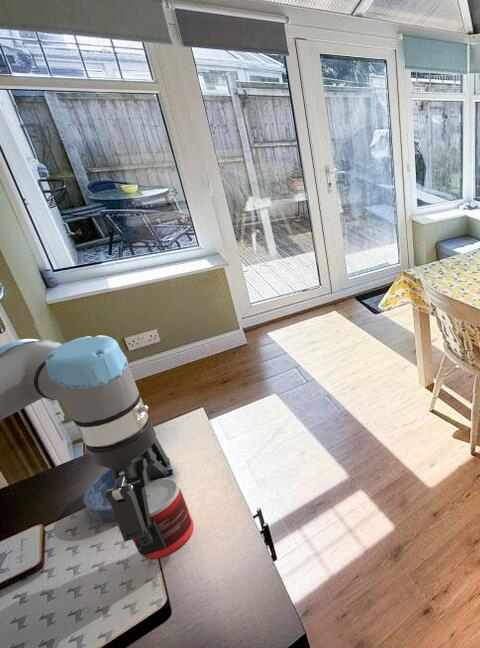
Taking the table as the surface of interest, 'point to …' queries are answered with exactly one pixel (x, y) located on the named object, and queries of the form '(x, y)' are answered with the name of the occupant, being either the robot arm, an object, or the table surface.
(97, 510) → the bowl
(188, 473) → the table surface
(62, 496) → the table surface
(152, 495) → the canned food
